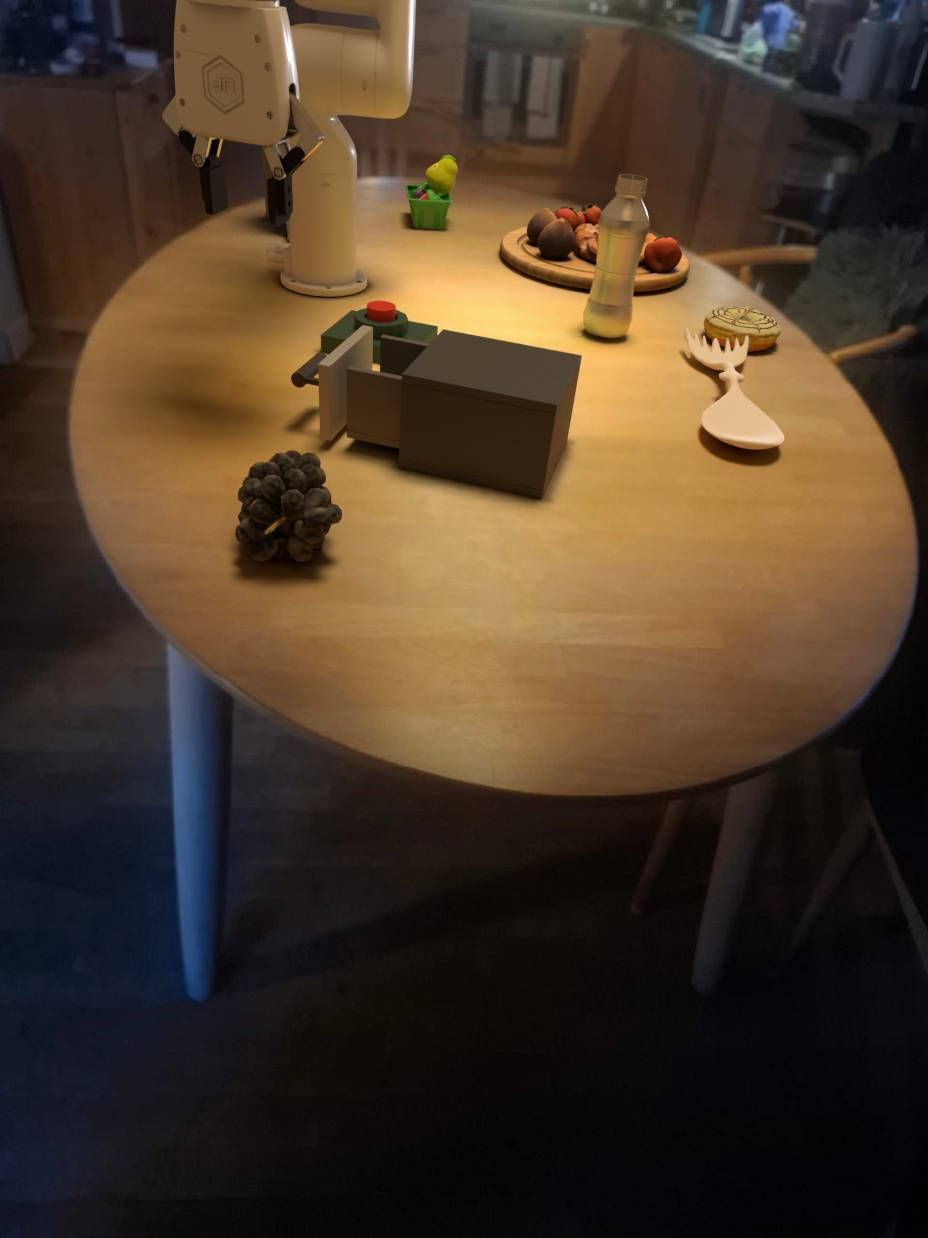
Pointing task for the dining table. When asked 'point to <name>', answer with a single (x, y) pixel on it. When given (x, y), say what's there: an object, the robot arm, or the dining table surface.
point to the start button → (381, 311)
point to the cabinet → (487, 411)
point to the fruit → (285, 507)
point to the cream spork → (733, 400)
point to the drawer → (361, 386)
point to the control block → (376, 331)
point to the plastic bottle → (617, 259)
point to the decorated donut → (742, 327)
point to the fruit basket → (433, 195)
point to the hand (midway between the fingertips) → (248, 214)
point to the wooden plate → (585, 251)
